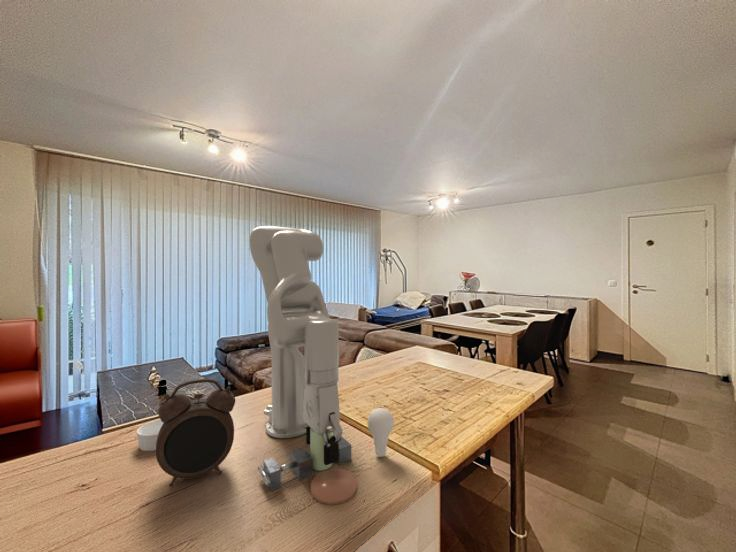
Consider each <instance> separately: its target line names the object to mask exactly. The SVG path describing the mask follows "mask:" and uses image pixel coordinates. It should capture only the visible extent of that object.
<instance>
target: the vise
mask: <svg viewBox="0 0 736 552" xmlns="http://www.w3.org/2000/svg"><path fill="white" fill-rule="evenodd" d="M351 461H352V444H351V443H350V442H348V440H346V438H344V437H343V436H342V435H341V440H340V443H339V459H338V461H337V464H338V465H342V464H345V463H348V462H351ZM257 470H258V471H259V474H260V477H262V480H263V482H264V483H265V485H266V486H267V487H268V489H269V491H270V492H272V491H274V490H277V489H280V488H282V473H284V472H287V471H290V470H292V472H293V474H295V477H296V478H297V479H298V481H301V480H303V479H306V478H308V477H311V476H313V475H314V469H313V458H312V457H311V456H310V452H308V451H307V450H306V448H305V447H304V446H303V447H301V448H298V449H294V450H292V451H290V462H288V463H285V464H283V465H279V464H278V463H277V460H275V457H270V458H267V459H264V460H263V465H261V464H259V465H258V467H257Z"/></svg>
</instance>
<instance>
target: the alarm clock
mask: <svg viewBox="0 0 736 552" xmlns="http://www.w3.org/2000/svg"><path fill="white" fill-rule="evenodd" d="M199 383H210V384H211V383H213V384H214V385H215V386H216V387H217V388H218V389H214V390H213V391H211V393H210V394H209V395H208V396H207V398H203V395H204V394H203V393H197V394H194V396H193V398H194V399H192V400H191V398H190V397H188V395H185V394H184V393H177V392H178V391H179V389H181V388H182V387H186V386H189V385H193V384H199ZM235 404H236V398H235V395H234V393H232V391H231V386H227V387H226V388H225V389H224V388H223V387H222V386H221V384H220V383H219V382H218V380H216V379H214V378H199V379H192V380H187V381H184V382H182V383H179V384H178V385H177V386H176V387H175V389H174V390H173V392H172V393H171V395H170V394H168V393H165V394H164V400H163V401H161V402H160V404H159V408H158V411H157V415H158V417H159V419H161V421H162V422H164V423H163V425H162V427H161V429H160V431H159V433H158V437H157V441H156V450H155V455H156V457H155V458H156V462H157V464H158V465H159V467H160V468H161V470H162V471H163V472H165V473H166V474H167V475H169V476H171V477H172V480H171V482H170V483H169V485H168V487H170V488H171V487H173V486H174V483H175V482H176V480H178V479H184V480H186V479H195V478H198V477H201V476H204V475H206V474H208V473H210V472H212V471H216V472H218V473H217V474H218V475H221V474H222V470H220V468H219V465H221V464H222V463H223V462H224V460H225V459H226V458H227V456H228V455H229V454H230V452H231V449H232V446H233V443H234V439H235V424H234V419H233V417H232V415H231V412H232V411H233V410H234V408H235V406H236V405H235Z"/></svg>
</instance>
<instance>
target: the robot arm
mask: <svg viewBox="0 0 736 552" xmlns="http://www.w3.org/2000/svg"><path fill="white" fill-rule="evenodd" d="M249 249H250V254H251V256H252V260H253V262H254V264H255V266H256V268H257V270H258V271H259V273H260V276H261V279H262V284H263V290H264V294H265V298H266V303H267V308H266V315H267V322H268V324H267V336H268V339H269V346H270V356H271V363H270V364H271V404H268V405H267V406H266V409H264V410H263V415H264V416H268V421H267V423H266V424H265V432H266V434H268V436H270V437H272V438H277V439H292V438H296V437H300V436H303V435H304V434H305V437H306V438H305V443H306V445H308V446H310V428H311V429H313V430H314V431H315V432H316V433H317V434H318V435H322V434H323V436H324V440H325V444H326V445H324V464H325V465H329V464H331V463H333V464H334V463H336V462H337V461H338V459H339V443H340V440H341V436H342V435H343V433H344V432H343V428H342V426H341V424H340V419H341V417H340V414H341V413H340V398H339V396H340V395H339V386H338V383H339V380H340V379H339V369H340V368H339V366H340V364H339V363H340V362H339V357H340V356H339V355H340V354H339V345H340V343H339V333H340V332H339V323H338V321H337V320H336V319H334V318H330V314H329V312H328V309H327V308H328V307H327V305H326V301H325V298H324V295H323V292H322V289H321V288H320V286H319V285H318V284H317V283H316V282H315V281H313V280H312V274H311V269H310V265H309V263H308V262H317V261H319V260H320V259H321V258H322V256H323V253H324V245H323V241H322V239H321V236H320V235H319V234H318V233H316V232H314V231H311V230H307V229H305V228H300V227H299V228H297V227H286V226H275V225H274V226H273V225H263V226H258V227H255V228H254V229H253V230H251V232H250V234H249ZM301 347H303V348H304V351H303V353H302V352H301V351H300V350H299V348H301ZM328 427H331V428H328ZM327 428H328V429H327ZM326 429H327V430H326ZM330 432H333V436H331V438H330V439H329V437H328V433H330ZM337 463H338V462H337Z"/></svg>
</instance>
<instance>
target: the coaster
mask: <svg viewBox="0 0 736 552" xmlns="http://www.w3.org/2000/svg"><path fill="white" fill-rule="evenodd" d="M357 490H358V480H357V477H356V475H355V474H353V473H352V472H351V471H349V470H347V469H344V468H328V469H326V470H322V471H321V472H319V473H318V474H316V475H315V476H314V477H313V479H312V480H311V484H310V492H311V496H312V498H313V499H315V501H317V502H319V503H321V504H324V505H340V504H342V503H346V502H348V501H349V500H351V499H352V498H353V497H354V495H356V493H357Z"/></svg>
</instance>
